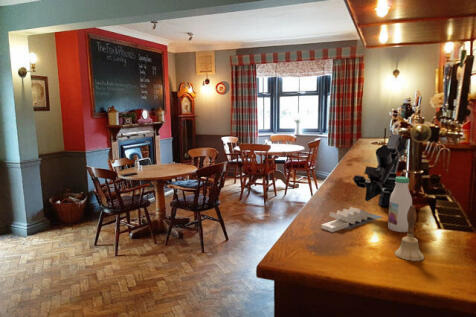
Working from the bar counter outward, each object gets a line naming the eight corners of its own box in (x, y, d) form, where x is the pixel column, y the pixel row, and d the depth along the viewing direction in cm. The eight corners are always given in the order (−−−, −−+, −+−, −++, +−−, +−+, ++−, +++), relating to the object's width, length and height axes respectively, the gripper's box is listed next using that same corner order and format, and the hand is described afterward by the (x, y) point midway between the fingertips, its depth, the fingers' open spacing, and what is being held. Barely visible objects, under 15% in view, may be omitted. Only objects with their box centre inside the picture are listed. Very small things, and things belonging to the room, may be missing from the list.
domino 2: (338, 219, 139) (321, 224, 133) (349, 222, 135) (332, 228, 129) (338, 223, 139) (321, 228, 133) (348, 226, 135) (332, 232, 129)
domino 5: (362, 211, 148) (349, 206, 142) (373, 214, 144) (360, 209, 138) (361, 215, 148) (348, 210, 142) (372, 218, 144) (359, 213, 138)
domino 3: (351, 215, 143) (337, 210, 137) (362, 218, 139) (348, 213, 133) (350, 219, 143) (336, 214, 137) (360, 222, 139) (347, 217, 133)
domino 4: (356, 213, 146) (343, 208, 140) (367, 216, 142) (354, 211, 136) (355, 217, 146) (342, 212, 140) (366, 220, 142) (353, 215, 136)
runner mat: (366, 213, 153) (366, 212, 153) (383, 217, 146) (383, 216, 146) (330, 224, 138) (330, 223, 138) (347, 230, 132) (347, 229, 132)
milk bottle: (408, 227, 135) (412, 176, 132) (411, 234, 127) (415, 180, 124) (387, 225, 137) (390, 175, 134) (388, 231, 130) (391, 179, 127)
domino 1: (344, 217, 141) (330, 211, 135) (355, 220, 137) (341, 215, 131) (343, 221, 141) (329, 215, 135) (354, 224, 137) (339, 219, 131)
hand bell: (389, 250, 113) (392, 202, 111) (414, 249, 114) (417, 202, 112) (403, 262, 105) (407, 210, 103) (430, 260, 106) (434, 209, 103)
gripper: (356, 156, 153) (339, 185, 148) (397, 162, 138) (380, 193, 133) (365, 172, 158) (350, 200, 154) (406, 179, 144) (390, 210, 139)
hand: (366, 200), depth 145 cm, fingers closed
